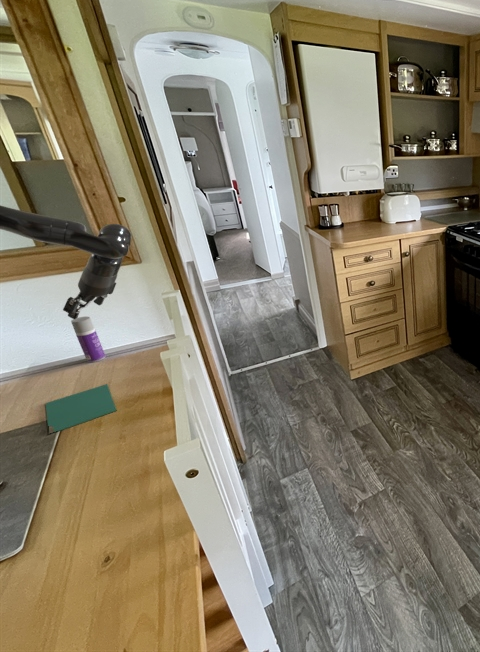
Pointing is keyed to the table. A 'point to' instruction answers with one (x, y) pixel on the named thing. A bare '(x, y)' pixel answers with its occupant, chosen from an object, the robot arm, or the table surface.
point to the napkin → (79, 408)
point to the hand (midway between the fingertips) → (85, 310)
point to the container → (88, 339)
